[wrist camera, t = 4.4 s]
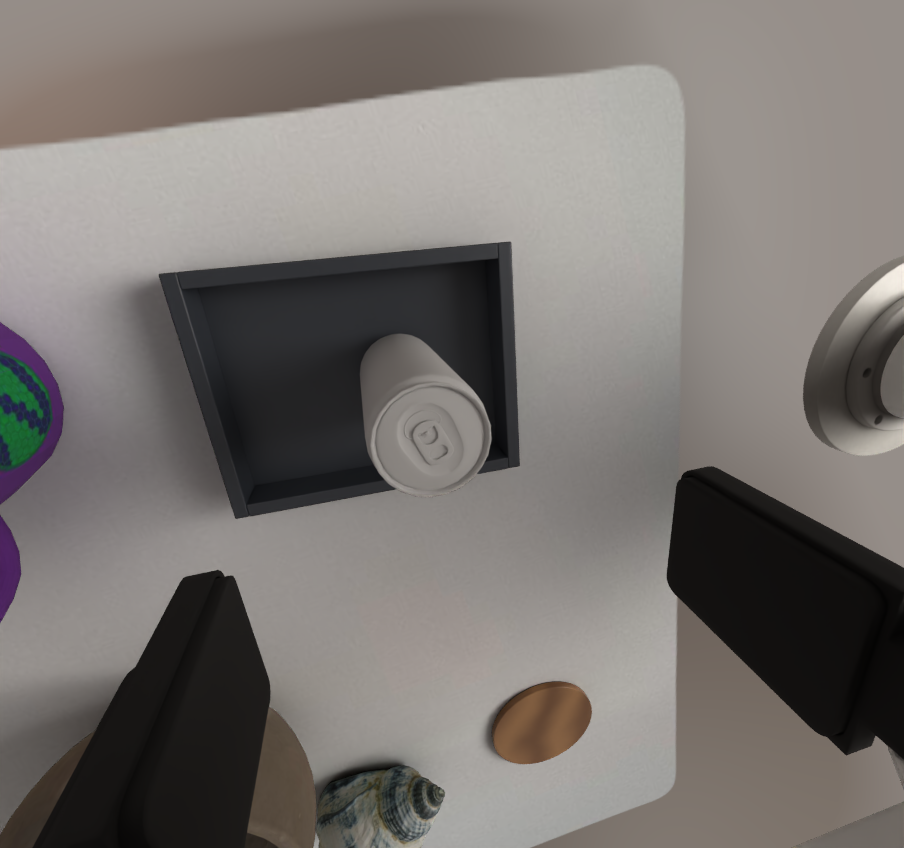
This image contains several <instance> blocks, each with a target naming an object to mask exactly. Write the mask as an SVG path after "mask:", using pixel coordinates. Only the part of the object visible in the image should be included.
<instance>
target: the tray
mask: <svg viewBox="0 0 904 848" xmlns="http://www.w3.org/2000/svg"><path fill="white" fill-rule="evenodd" d="M159 278H160V281H161V284H162V287H163V291H164V294H165V297H166V300H167V303H168V306H169V310H170V313H171V316H172V319H173V322H174V325H175V329H176V332H177V335H178V338H179V341H180V344H181V348H182V351H183V354H184V357H185V360H186V363H187V367H188V370H189V373H190V376H191V379H192V382H193V386H194V389H195V392H196V395H197V398H198V401H199V405H200V408H201V411H202V414H203V417H204V421H205V424H206V427H207V430H208V433H209V436H210V440H211V443H212V446H213V449H214V452H215V455H216V459H217V462H218V465H219V468H220V471H221V474H222V478H223V481H224V484H225V487H226V490H227V493H228V497H229V500H230V503H231V506H232V509H233V512H234V516H235V518H236V519H238V518H243V517H248V516H249V515H250V516H255V515H261V514H266V513H271V512H277V511H282V510H287V509H293V508H298V507H304V506H309V505H314V504H320V503H325V502H330V501H336V500H341V499H346V498H352V497H357V496H363V495H368V494H373V493H379V492H384V491H389V490H395V489H396V488H394V487H393V486H391V485H389V484H388V483H387V482H386V481H385V479H384V478H383V477H382V476H381V475H380V474H379V473H378V471H377V469H376V468H375V466H374V464H373V462H372V460H371V458H370V456H369V454H368V451H367V445H366V439H365V431H364V419H363V407H362V395H361V383H360V366H361V362H362V359H363V357H364V354H365V353H366V351H367V350H368V349H369V347H370V346H371V345H372V344H373V343H375V342H376V341H377V340H379V339H380V338H383V337H385V336H388V335H392V334H407V335H412V336H414V337H416V338H419V339H421V340H422V341H423V342H424V343H426V344H427V345H428V346H429V347H430V348H431V349H432V350H433V351H434V352H435V353H436V354H437V355H438V356H439V357H440V358H441V359H442V360H443V361H444V362H445V363H446V364H447V365H448V366H449V367H450V368H451V369H452V370H453V371H454V372H455V373H456V374H457V375H458V376H459V377H460V378H461V379H462V380H463V381H465V382H466V383H467V384H468V385H469V386H470V387H471V388H472V389H473V390H474V392H475V393H476V395H477V396H478V397H479V399H480V400H481V402H482V403H483V405H484V408H485V411H486V413H487V416H488V419H489V422H490V425H491V444H490V449H489V454H488V456H487V458H486V460H485V462H484V464H483V466H482V468H481V469H480V470H479V471H478V473H477V474H481V473H486V472H491V471H497V470H502V469H507V468H512V467H517V466H520V458H519V432H518V405H517V379H516V353H515V327H514V301H513V275H512V249H511V242H501V243H490V244H479V245H468V246H457V247H446V248H435V249H424V250H413V251H402V252H391V253H381V254H370V255H359V256H348V257H337V258H326V259H315V260H304V261H293V262H282V263H272V264H261V265H250V266H239V267H228V268H217V269H206V270H195V271H184V272H174V273H163V274H159Z"/></svg>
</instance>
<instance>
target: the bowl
mask: <svg viewBox="0 0 904 848" xmlns="http://www.w3.org/2000/svg"><path fill="white" fill-rule="evenodd" d="M94 733H95V731H94V732H93V733H91V734H90V735H88V736H87V737H86V738H84V739H83V740H82V741H80V742H79V743H78V744H77V745H75V746H74V747H73V748H71V749H70V750H69V751H68V752H67V753H66V754H65V755H64V756H63V757H62V758H61V759H60V760H59V761H58V762H57V763H56V764H55V765H54V766H52V767H51V768H50V769H49V771H48V772H47V773H46V774H45V775H44V776H43V777H42V778H41V780H40V781H39V782H38V783H37V784H36V785H35V786H34V788H33V789H32V790H31V791H30V792H29V793H28V795H27V796H26V797H25V799H24V800H23V801H22V803H21V804H20V805H19V807H18V808H17V809H16V811H15V812H14V814H13V815H12V816H11V818H10V819H9V821H8V823H7V824H6V826H5V828H4V829H3V831H2V833H1V834H0V848H32V847H33V845H34V844H35V842H36V840H37V838H38V836H39V834H40V833H41V831H42V829H43V827H44V825H45V823H46V821H47V820H48V818H49V816H50V814H51V812H52V810H53V808H54V807H55V805H56V803H57V801H58V799H59V797H60V796H61V794H62V792H63V790H64V788H65V786H66V784H67V783H68V781H69V779H70V777H71V775H72V773H73V771H74V770H75V768H76V766H77V764H78V762H79V760H80V759H81V757H82V755H83V753H84V751H85V749H86V747H87V746H88V744H89V742H90V740H91V738H92V736H93V734H94ZM315 823H316V793H315V787H314V781H313V775H312V771H311V768H310V765H309V762H308V759H307V756H306V754H305V752H304V750H303V748H302V746H301V744H300V742H299V740H298V739H297V737H296V735H295V733H294V732H293V731H292V729H291V728H290V727H289V725H288V724H287V723H286V722H285V720H284V719H283V718H282V717H281V716H280V715H279V714H278V713H277V712H276V711H275V710H273V709H272V708H270V707H269V709H268V715H267V720H266V726H265V732H264V738H263V744H262V749H261V755H260V761H259V767H258V772H257V778H256V784H255V790H254V795H253V801H252V807H251V813H250V818H249V824H248V830H247V836H246V841H245V847H244V848H313V846H314V840H315Z"/></svg>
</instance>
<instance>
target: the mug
mask: <svg viewBox="0 0 904 848" xmlns="http://www.w3.org/2000/svg"><path fill="white" fill-rule="evenodd" d="M63 411H64V406H63V403H62V399H61V395H60V391H59V387H58V384H57V382H56V380H55V379H54V377H53V375H52V373H51V372H50V370H49V368H48V366H47V364H46V363H45V361H44V360H43V359H42V358H41V357H40V356H39V355H38V353H37V352H36V351H35V350H34V349H33V348H32V347H31V346H30V345H29V344H28V343H27V342H26V341H25V339H23V338H22V337H20V336H19V335H17V334H16V333H15V332H13V331H12V330H10V329H9V328H7V327H6V326H5V325H3V324H2V323H0V504H1V503H3V502H4V501H5V500H7V499H8V498H9V497H10V496H11V495H13V494H14V493H15V492H16V491H17V490H18V489H19V488H20V487H21V486H22V485H23V484H24V483H25V482H26V481H27V480H28V479H29V478H30V477H31V476H32V475H33V474H34V473H35V472H36V471H37V470H38V469H39V468H40V467H41V466H42V465H43V464H44V463H45V462H46V461H47V460H48V458H49V457H50V456H51V455H52V453H53V451H54V449H55V447H56V445H57V443H58V440H59V438H60V436H61V434H62V426H63ZM20 577H21V566H20V554H19V550H18V547H17V545H16V542H15V540H14V537H13V535H12V533H11V530H10V529H9V527H8V526H7V524H6V523H5V521H4V520H3V518H2V517H1V515H0V622H1V621H2V619H3V617H4V616H5V614H6V612H7V610H8V608H9V606H10V605H11V603H12V601H13V599H14V596H15V593H16V590H17V586H18V583H19V580H20Z"/></svg>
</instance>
